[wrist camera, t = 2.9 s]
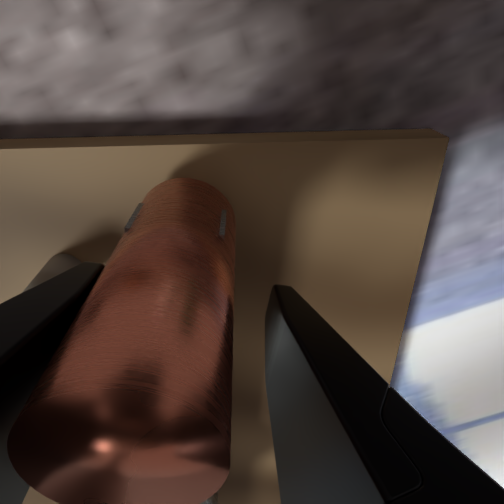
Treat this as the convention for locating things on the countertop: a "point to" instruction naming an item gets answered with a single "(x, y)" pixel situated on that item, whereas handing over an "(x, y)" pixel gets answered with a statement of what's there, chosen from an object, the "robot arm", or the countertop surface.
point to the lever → (143, 366)
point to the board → (242, 238)
